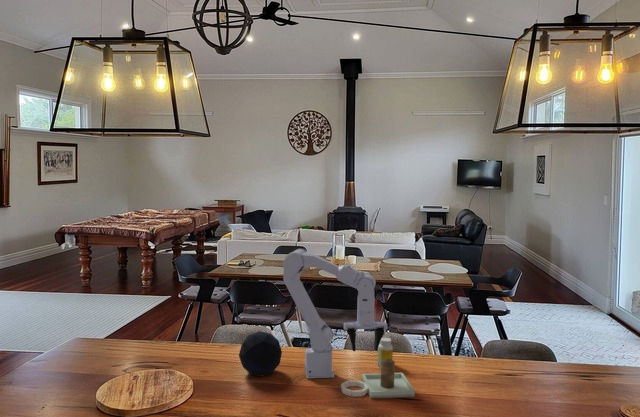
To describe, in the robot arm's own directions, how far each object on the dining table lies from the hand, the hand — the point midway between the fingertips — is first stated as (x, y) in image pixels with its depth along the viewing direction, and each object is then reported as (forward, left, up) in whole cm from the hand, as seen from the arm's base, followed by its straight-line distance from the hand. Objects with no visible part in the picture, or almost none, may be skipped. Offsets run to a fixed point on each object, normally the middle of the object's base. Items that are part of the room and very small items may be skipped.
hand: (364, 349), depth 168 cm
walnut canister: (+6, -8, -9) cm, 14 cm away
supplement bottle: (+10, +11, -10) cm, 18 cm away
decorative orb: (-35, +7, -10) cm, 37 cm away
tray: (+6, -8, -10) cm, 14 cm away
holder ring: (-5, -9, -10) cm, 14 cm away
